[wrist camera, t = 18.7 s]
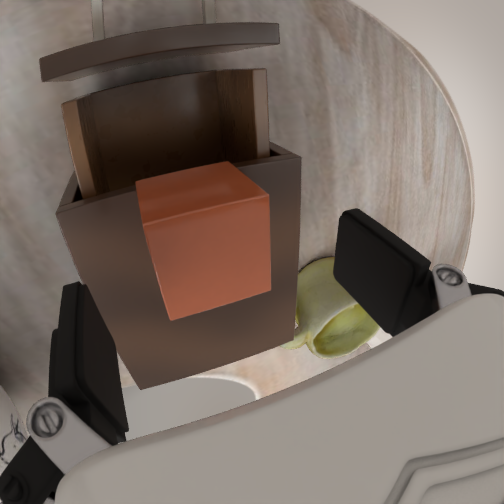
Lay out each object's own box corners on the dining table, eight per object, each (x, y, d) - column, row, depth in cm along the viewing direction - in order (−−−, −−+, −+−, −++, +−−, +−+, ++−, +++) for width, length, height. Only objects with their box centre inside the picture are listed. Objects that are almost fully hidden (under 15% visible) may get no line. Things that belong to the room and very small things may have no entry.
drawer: (62, 2, 12) (36, -31, 6) (225, -21, 15) (274, -56, 9) (105, 236, 23) (105, 300, 17) (240, 202, 26) (283, 249, 20)
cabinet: (78, 161, 19) (55, 213, 12) (238, 126, 23) (301, 156, 16) (126, 308, 28) (140, 390, 20) (248, 273, 31) (294, 340, 24)
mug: (378, 247, 35) (410, 320, 28) (337, 297, 42) (356, 362, 35) (284, 231, 31) (306, 319, 24) (253, 290, 38) (264, 367, 31)
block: (134, 181, 13) (142, 224, 10) (228, 160, 14) (269, 194, 11) (154, 262, 16) (170, 322, 12) (235, 240, 17) (272, 290, 13)
